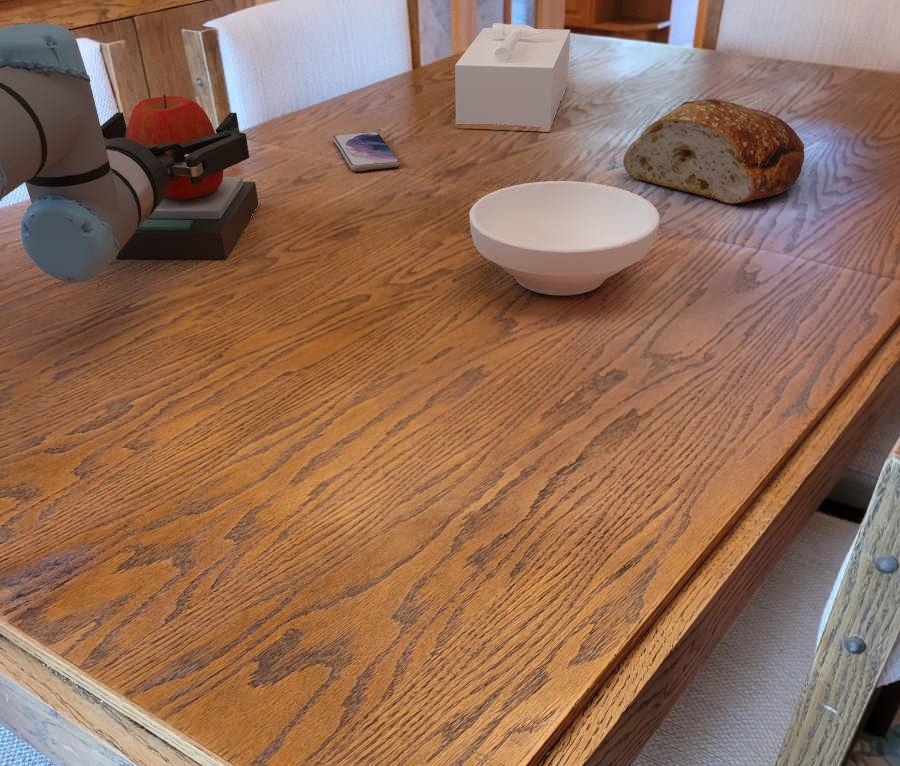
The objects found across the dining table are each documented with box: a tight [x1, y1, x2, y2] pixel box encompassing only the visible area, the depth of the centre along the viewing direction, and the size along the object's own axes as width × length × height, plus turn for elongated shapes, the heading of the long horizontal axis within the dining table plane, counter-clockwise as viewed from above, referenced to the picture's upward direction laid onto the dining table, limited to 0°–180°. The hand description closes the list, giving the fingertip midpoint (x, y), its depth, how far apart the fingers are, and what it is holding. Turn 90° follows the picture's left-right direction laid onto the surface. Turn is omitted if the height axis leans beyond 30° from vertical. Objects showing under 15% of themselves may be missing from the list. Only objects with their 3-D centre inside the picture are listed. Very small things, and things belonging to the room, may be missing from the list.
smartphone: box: [332, 131, 401, 172], centre depth 129 cm, size 7×1×15 cm
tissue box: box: [454, 22, 571, 128], centre depth 142 cm, size 14×25×11 cm, turn 169°
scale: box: [115, 176, 260, 261], centre depth 109 cm, size 14×17×4 cm
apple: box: [125, 94, 224, 199], centre depth 105 cm, size 11×11×11 cm
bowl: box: [468, 180, 661, 296], centre depth 95 cm, size 20×20×7 cm
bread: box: [622, 98, 805, 204], centre depth 116 cm, size 20×18×10 cm
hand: (179, 124), depth 106 cm, fingers open, 13 cm apart
